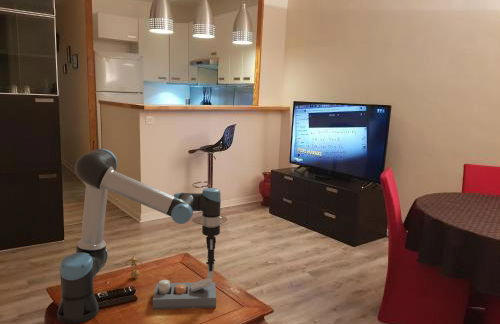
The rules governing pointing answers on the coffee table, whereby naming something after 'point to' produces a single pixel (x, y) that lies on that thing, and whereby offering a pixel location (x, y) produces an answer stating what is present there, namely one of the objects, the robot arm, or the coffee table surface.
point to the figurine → (135, 272)
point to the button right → (180, 289)
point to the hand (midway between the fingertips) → (210, 276)
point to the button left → (164, 287)
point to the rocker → (201, 284)
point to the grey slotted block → (185, 298)
